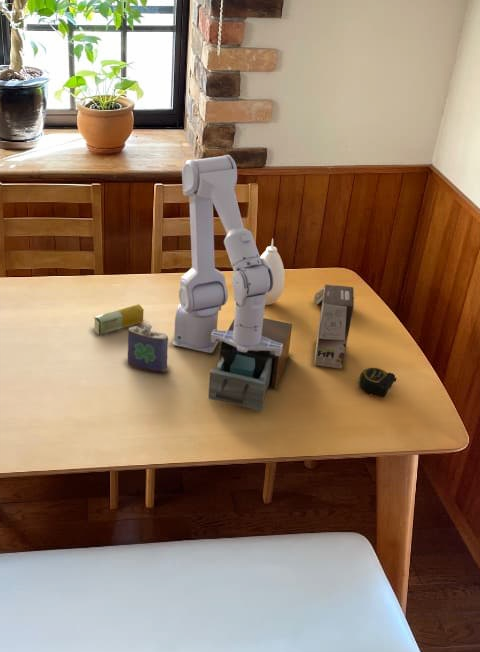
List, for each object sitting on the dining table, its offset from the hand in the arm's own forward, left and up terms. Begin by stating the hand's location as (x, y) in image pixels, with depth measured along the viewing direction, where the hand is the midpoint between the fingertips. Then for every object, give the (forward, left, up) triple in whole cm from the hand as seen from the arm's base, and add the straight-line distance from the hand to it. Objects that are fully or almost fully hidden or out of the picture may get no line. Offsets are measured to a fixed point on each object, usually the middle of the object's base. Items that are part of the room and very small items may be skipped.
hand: (243, 375), depth 167 cm
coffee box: (+15, +20, -4) cm, 26 cm away
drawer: (0, -3, -3) cm, 4 cm away
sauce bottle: (-4, +38, -4) cm, 39 cm away
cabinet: (0, +10, -4) cm, 11 cm away
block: (0, 0, -1) cm, 1 cm away
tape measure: (+27, +11, -4) cm, 30 cm away
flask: (-22, +1, -4) cm, 22 cm away
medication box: (-34, +14, -4) cm, 37 cm away
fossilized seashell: (+12, +42, -4) cm, 44 cm away
